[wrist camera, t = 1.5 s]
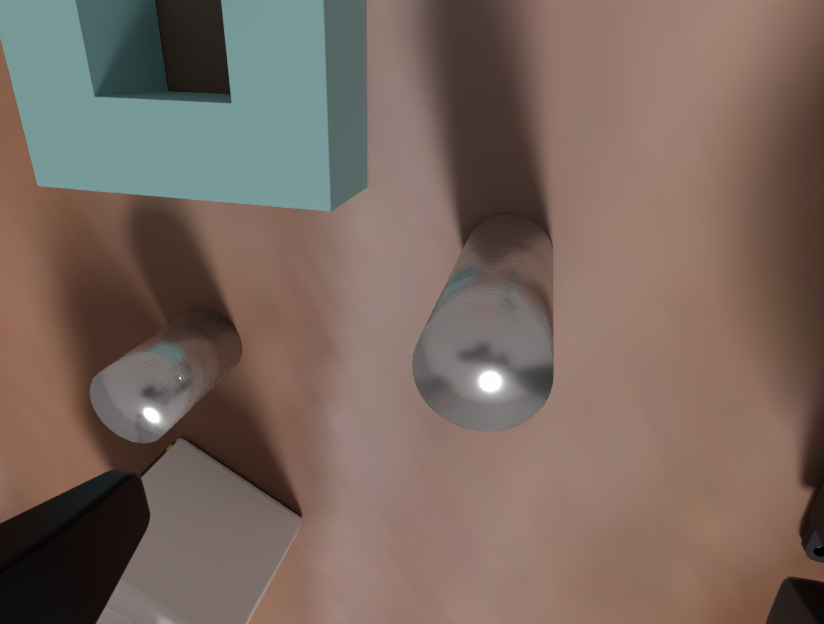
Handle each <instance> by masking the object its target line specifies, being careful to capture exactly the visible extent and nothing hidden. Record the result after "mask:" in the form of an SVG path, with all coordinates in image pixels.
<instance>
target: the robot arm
mask: <svg viewBox="0 0 824 624" xmlns="http://www.w3.org/2000/svg"><path fill="white" fill-rule="evenodd" d="M808 519H809V521H810V522H809V524H808V527H807V529H806V531H805V534H804V536H803V538H802V542H801V545H802V547H803V549H804V551H805V553H806V555H807V556H808V557H809V558H810V559H811V560H815V561H818V562H823V563H824V481H823V483H822V486H821V488H820V490H819V493H818V495H817V497H816V500H815V502H814V504H813V507H812V509H811V511H810V514H809V516H808ZM149 521H150V509H149V505H148V501H147V497H146V493H145V489H144V486H143V482H142V479H141V477H140V476H139V475H138V474H137V473H134V472H128V471H122V470H110V471H108V472H105V473H103V474H101V475H99V476H97V477H95V478H93V479H91V480H89V481H87V482H85V483H83V484H81V485H79V486H76V487H74V488H72V489H70V490H68V491H66V492H64V493H62V494H60V495H58V496H56V497H54V498H52V499H50V500H48V501H46V502H44V503H42V504H39V505H37V506H35V507H33V508H31V509H29V510H27V511H25V512H23V513H21V514H19V515H17V516H15V517H13V518H11V519H9V520H7V521H4V522H2V523H0V624H96V623H97V621H98V619H99V617H100V616H101V614H102V612H103V610H104V609H105V607H106V605H107V603H108V601H109V599H110V597H111V596H112V594H113V592H114V590H115V588H116V586H117V584H118V583H119V581H120V579H121V577H122V575H123V573H124V571H125V569H126V568H127V566H128V564H129V562H130V560H131V558H132V556H133V555H134V553H135V551H136V549H137V547H138V545H139V543H140V541H141V540H142V538H143V536H144V534H145V532H146V530H147V528H148V525H149ZM818 546H823V547H820V548H816V547H818ZM766 624H824V582H821V581H817V580H811V579H804V578H798V577H787V578H786V579H784V580H783V582H782V583H781V585H780V588H779V590H778V593H777V595H776V598H775V600H774V602H773V605H772V607H771V610H770V612H769V615H768V617H767V621H766Z"/></svg>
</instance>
